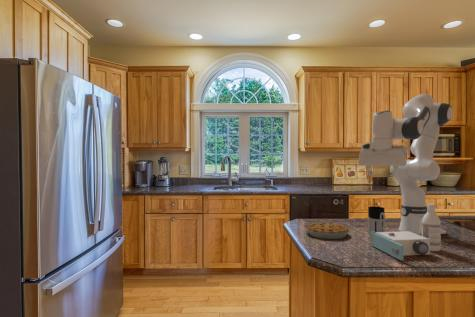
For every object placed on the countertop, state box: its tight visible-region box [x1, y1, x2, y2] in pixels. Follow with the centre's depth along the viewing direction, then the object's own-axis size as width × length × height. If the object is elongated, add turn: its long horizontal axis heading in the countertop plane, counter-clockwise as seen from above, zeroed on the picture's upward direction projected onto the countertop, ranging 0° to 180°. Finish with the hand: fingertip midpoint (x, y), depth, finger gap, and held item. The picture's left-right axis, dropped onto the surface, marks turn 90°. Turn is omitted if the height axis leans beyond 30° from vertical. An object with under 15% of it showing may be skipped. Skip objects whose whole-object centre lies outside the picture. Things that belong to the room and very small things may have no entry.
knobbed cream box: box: [376, 231, 431, 256], centre depth 129 cm, size 16×16×7 cm
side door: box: [371, 231, 405, 262], centre depth 126 cm, size 2×21×7 cm, turn 6°
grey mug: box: [366, 205, 386, 239], centre depth 149 cm, size 9×14×15 cm, turn 176°
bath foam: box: [421, 203, 442, 252], centre depth 132 cm, size 7×7×20 cm
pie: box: [305, 222, 350, 240], centre depth 158 cm, size 22×22×5 cm
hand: (381, 175), depth 138 cm, fingers open, 8 cm apart
